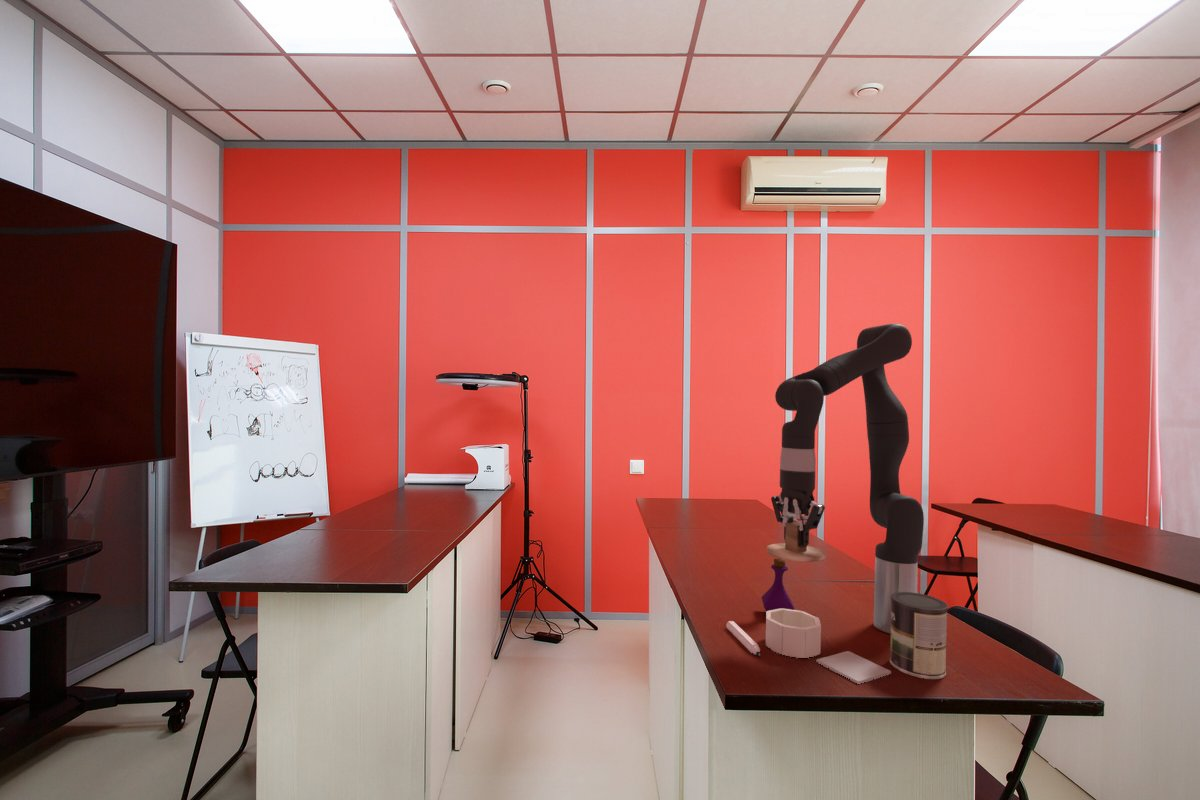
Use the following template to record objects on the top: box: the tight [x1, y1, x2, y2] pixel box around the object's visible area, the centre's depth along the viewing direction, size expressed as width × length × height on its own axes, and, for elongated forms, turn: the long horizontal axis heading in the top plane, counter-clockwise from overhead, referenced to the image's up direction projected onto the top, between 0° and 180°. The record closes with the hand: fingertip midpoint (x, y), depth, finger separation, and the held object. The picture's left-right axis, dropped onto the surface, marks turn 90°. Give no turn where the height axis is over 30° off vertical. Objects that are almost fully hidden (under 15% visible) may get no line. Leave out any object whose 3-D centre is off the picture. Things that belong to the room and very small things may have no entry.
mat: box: [816, 650, 892, 685], centre depth 112 cm, size 10×10×1 cm
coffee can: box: [889, 592, 949, 680], centre depth 113 cm, size 10×10×14 cm
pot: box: [765, 608, 822, 659], centre depth 121 cm, size 11×11×6 cm
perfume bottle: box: [761, 558, 796, 612], centre depth 139 cm, size 8×8×18 cm
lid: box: [766, 521, 827, 563], centre depth 121 cm, size 12×12×7 cm
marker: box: [725, 620, 762, 657], centre depth 122 cm, size 3×2×16 cm
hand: (795, 544), depth 121 cm, fingers closed on lid, 3 cm apart
